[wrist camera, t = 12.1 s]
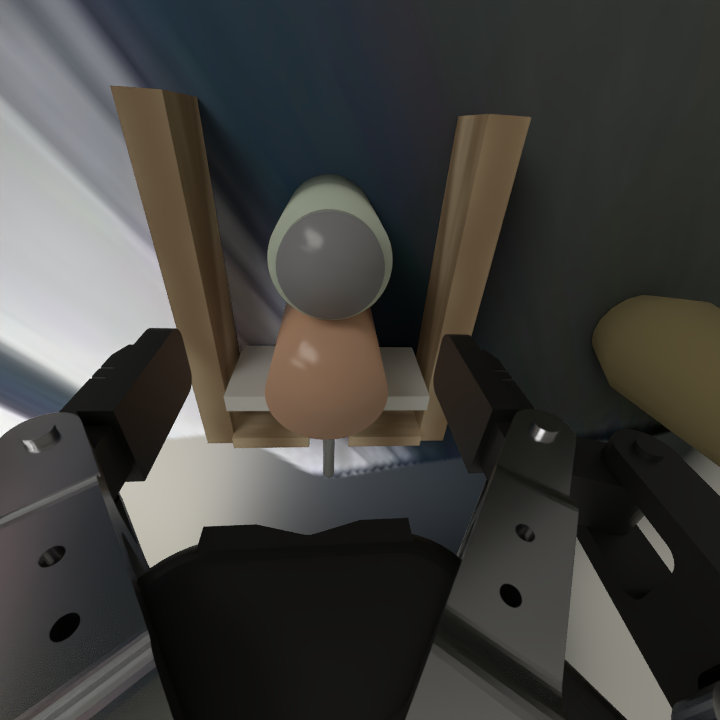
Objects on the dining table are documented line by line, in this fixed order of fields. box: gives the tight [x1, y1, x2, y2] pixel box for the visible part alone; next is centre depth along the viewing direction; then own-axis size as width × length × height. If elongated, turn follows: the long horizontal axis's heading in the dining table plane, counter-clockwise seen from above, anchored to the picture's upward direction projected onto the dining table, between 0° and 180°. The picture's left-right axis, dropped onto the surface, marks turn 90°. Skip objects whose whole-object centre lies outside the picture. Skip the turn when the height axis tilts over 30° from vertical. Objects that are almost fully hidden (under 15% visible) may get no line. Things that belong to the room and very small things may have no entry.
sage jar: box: [267, 174, 393, 320], centre depth 18 cm, size 6×6×9 cm
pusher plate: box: [224, 345, 430, 477], centre depth 28 cm, size 13×13×6 cm
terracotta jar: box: [265, 302, 388, 440], centre depth 21 cm, size 6×6×10 cm
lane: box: [110, 86, 531, 448], centre depth 22 cm, size 18×21×5 cm
